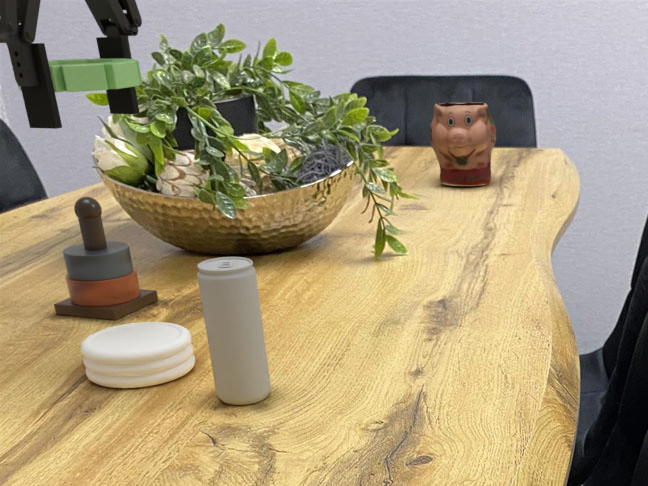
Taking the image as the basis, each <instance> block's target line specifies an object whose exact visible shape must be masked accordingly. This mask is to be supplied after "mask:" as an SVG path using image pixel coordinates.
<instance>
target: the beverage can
mask: <svg viewBox="0 0 648 486" xmlns="http://www.w3.org/2000/svg"><path fill="white" fill-rule="evenodd" d="M253 265H254V262H253V260H252V259H250V258H247V257H242V256H222V257H215V258H209V259H206V260H203V261H200V262H198V264H197V270H198V271H197V273H196V277H197V283H198V288H199V295H200V301H201V308H202V313H203V319H204V326H205V333H206V339H207V345H208V351H209V357H210V364H211V369H212V370H211V371H212V376H213V382H214V388H215V393H216V394H215V395H216V397H218V399H220V400H221V401H222V402H223V403H225V404H227V405H232V406H233V405H234V406H245V405H252V404H255V403H259V402H262V401H263V400H265V399H266V398H267V397H268V396H269V394H270V392H271V390H272V385H271V377H270V369H269V362H268V354H267V348H266V340H265V332H264V326H263V325H264V324H263V315H262V308H261V300H260V294H259V285H258V279H257V278H258V277H257V271H256V268H255V267H254V266H253Z"/></svg>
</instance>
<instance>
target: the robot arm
mask: <svg viewBox="0 0 648 486" xmlns="http://www.w3.org/2000/svg"><path fill="white" fill-rule="evenodd" d="M41 1H42V0H0V44H6V46H7V50H8V55H9V58H10V63H11V66H12V67H11V68H12V71H13V76H14V79H15V82H16V84H17V87H18V86H21V90H22V91H21V90H20V91H21V95H22V98H23V103H24V107H25V112H26V116H27V120H28V126H29V128H30V129H49V130H50V129H52V130H53V129H55V130H56V129H62V128H63V123H62V119H61V115H60V110H59V106H58V101H57V95H56V92H54V87H53V82H52V78H51V73H50V68H49V63H48V61H49V59H48V54H47V49H46V46H45V42H35V41H36V35H37V27H38V21H39V13H40V9H41ZM84 2H85V4H86V5H87V7H88V9H89V11H90V13H91V15H92V17H93V19H94V20H95V22H96V24H97V26H98V28H99V30H100V32H101V33H102V35H103V36H99V37H95V39H96V45H97V50H98V55H99V58H127V59H133V57H132V52H131V47H130V46H131V45H130V41H129V40H130V39H129V37H136V36H138V34H139V28H141V26H142V24H143V20H142V16H141V13H140V9H139V6H138V4H137V1H136V0H84ZM124 11H126V12H124ZM136 90H137V89H136V86H135V87H128V88H121V89H108V90H105V92H106V97H107V103H108V107H109V114H111V115H138V114H141V111H140V109H139V108H140V106H139V102H138V96H137V95H138V94H137V91H136Z"/></svg>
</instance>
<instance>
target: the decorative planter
mask: <svg viewBox="0 0 648 486" xmlns="http://www.w3.org/2000/svg"><path fill="white" fill-rule="evenodd" d="M496 142H497V128H496V124H495V122H494V119H493V117H492V114H491V112H490V109H489V105H488V104H487V103H486V102H482V101H481V102H480V101H479V102H477V101H476V102H475V101H473V102H471V101H468V102H443V103H439V102H435V104H434V106H433V118H432V120H431V122H430V126H429V143H430V146H431V148H432V150H433V152H434V153H435V156H436V159H437V162H438V166H439V171H440V172H439V183H440V184H442V185H445V186H453V187H478V186H486V185H488V184H490V182H491V179H492V169H491V168H492V152H493V149H494V148H495V145H496Z"/></svg>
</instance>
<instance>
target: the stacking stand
mask: <svg viewBox="0 0 648 486" xmlns="http://www.w3.org/2000/svg"><path fill="white" fill-rule="evenodd" d="M73 210H74V214H75V216H76V218H77V220H78V226H79V228H80V234H81V239H82V243H78V244H74V245H71V246H68V247H65V248H64V249H63V250H62V255H63V260H64V264H65V269H66V273H67V274H65V281H66V286H67V290H68V294H69V297H68V298H65V299H63V300H61V301H57V302H55V303H53V307H54V311H55V315H61V316H70V317H82V318H91V319H102V320H111V321H116V320H118V319H120V318H123V317H125V316H127V315H129V314H132V313H134V312H136V311H138V310H139V309H142V308H144V307H146V306H148V305H151V304H153V303H155V302H157V301H159V296H158V290H157V289H154V290H153V289H144V288H141V286H140V283H139V282H140V281H139V277H138V272H137V269H136V268H135V267H134V265H133V260H132V255H131V254H132V253H131V250H130V245H129V244H128V243H126V242H123V241H116V240H107V239H106V233H105V229H104V228H105V227H104V224H103V219H102V215H103V214H102V213H103V209H102V206H101V204H100V202H99V201H98V200H97V199H95V198H93V197H92V196H82V197H80V198H78V199H77V200H76V202H74V205H73Z"/></svg>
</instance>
